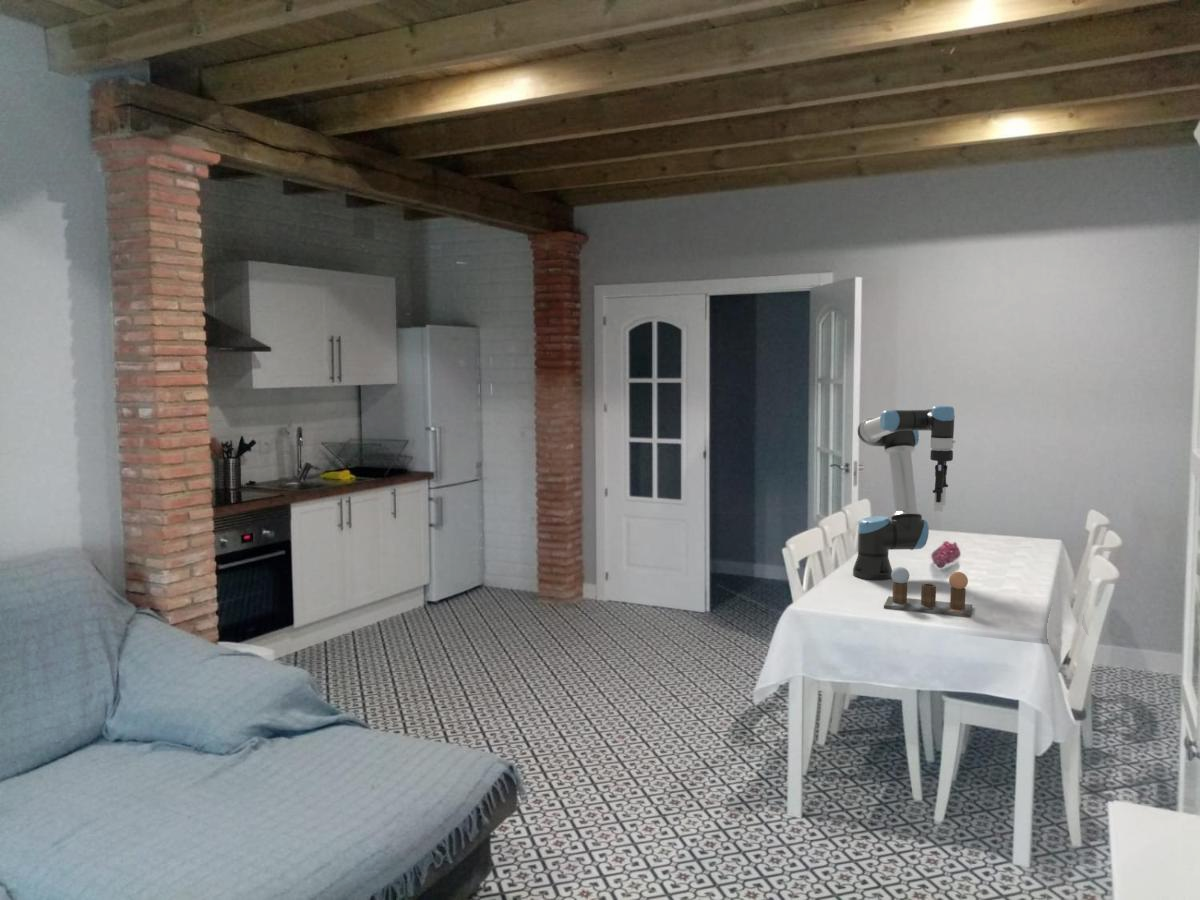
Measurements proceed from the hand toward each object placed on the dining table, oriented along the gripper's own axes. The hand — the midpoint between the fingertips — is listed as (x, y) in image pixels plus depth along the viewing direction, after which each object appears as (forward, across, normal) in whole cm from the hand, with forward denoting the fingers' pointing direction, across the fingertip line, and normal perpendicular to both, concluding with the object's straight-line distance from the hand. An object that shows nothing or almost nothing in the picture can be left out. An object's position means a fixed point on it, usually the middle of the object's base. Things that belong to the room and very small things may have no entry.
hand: (939, 508), depth 329 cm
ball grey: (+25, -17, +11) cm, 32 cm away
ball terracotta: (+25, -17, -8) cm, 31 cm away
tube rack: (+32, -17, +2) cm, 37 cm away
